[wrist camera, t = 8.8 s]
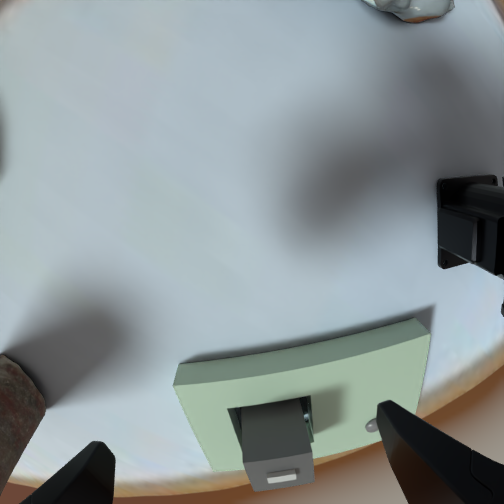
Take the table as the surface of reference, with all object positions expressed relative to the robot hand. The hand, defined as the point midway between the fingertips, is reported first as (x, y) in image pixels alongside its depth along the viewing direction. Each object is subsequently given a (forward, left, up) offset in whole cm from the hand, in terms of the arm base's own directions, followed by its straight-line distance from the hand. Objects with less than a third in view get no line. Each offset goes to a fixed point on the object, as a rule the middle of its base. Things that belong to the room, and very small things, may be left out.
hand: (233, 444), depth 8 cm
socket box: (-4, +11, -12) cm, 16 cm away
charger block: (-1, +11, -12) cm, 16 cm away
